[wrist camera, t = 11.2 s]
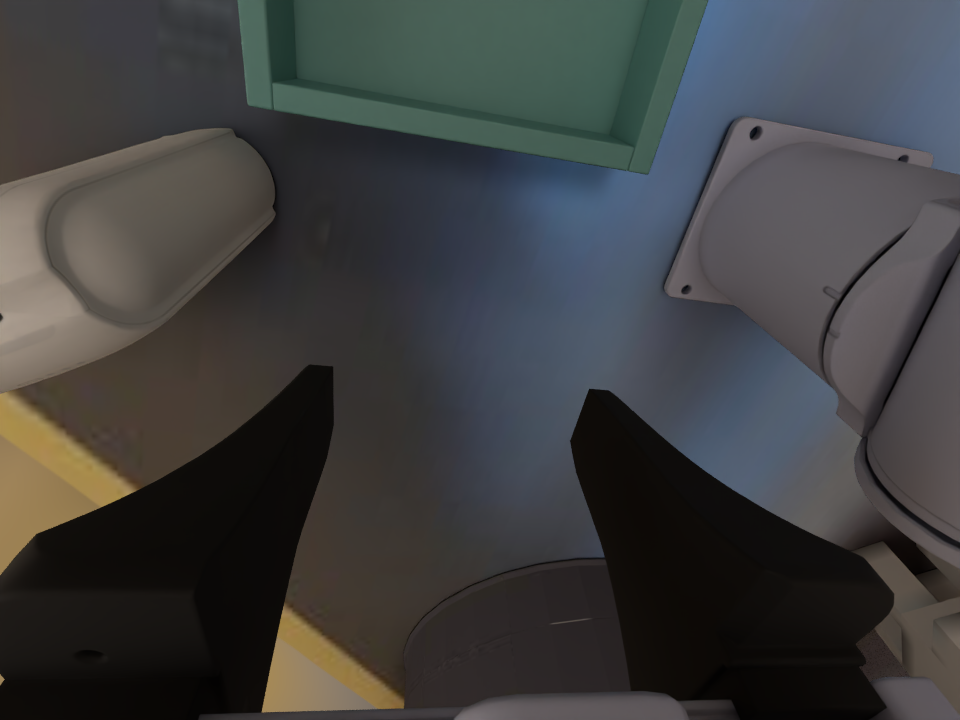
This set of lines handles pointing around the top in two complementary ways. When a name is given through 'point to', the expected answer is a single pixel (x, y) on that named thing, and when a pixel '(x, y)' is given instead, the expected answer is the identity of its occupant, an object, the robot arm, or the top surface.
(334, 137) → the top surface
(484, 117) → the bin
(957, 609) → the toy llama
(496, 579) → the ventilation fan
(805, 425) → the top surface
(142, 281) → the white rounded flat block
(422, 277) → the top surface
